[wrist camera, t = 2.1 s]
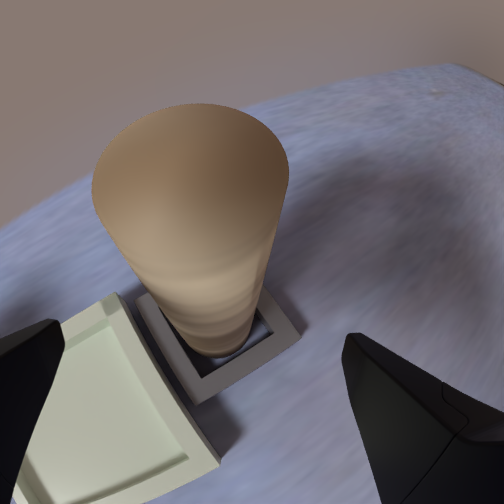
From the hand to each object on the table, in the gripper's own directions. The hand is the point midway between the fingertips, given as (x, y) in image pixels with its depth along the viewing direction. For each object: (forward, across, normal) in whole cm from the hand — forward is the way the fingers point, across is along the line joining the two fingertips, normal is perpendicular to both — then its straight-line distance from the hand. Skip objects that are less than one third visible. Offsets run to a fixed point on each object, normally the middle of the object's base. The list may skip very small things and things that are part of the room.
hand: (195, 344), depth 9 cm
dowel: (+10, 0, +6) cm, 11 cm away
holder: (+10, 0, +6) cm, 11 cm away
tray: (+4, +9, +11) cm, 15 cm away
